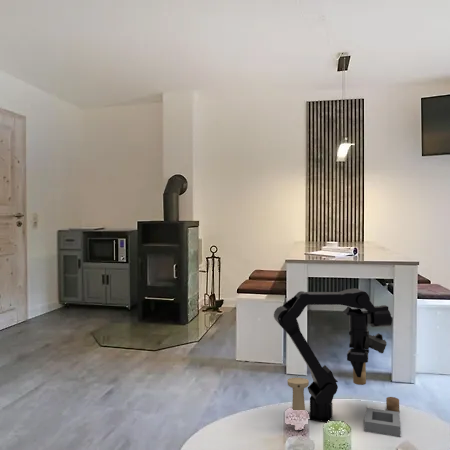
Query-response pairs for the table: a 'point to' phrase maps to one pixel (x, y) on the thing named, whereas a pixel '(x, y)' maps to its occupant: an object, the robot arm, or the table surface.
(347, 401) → the table surface
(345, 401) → the table surface
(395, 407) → the short peg
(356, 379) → the long peg
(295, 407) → the handle
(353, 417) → the table surface
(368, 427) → the block
